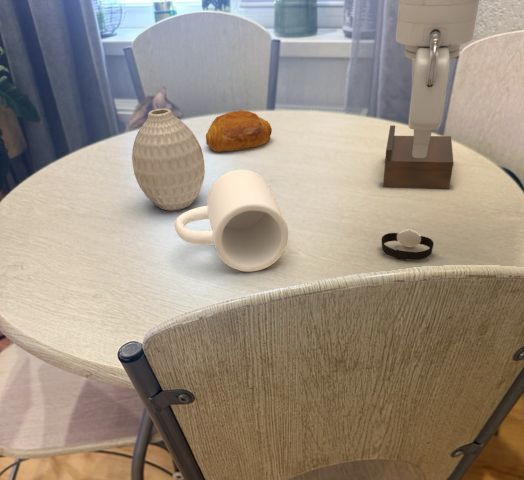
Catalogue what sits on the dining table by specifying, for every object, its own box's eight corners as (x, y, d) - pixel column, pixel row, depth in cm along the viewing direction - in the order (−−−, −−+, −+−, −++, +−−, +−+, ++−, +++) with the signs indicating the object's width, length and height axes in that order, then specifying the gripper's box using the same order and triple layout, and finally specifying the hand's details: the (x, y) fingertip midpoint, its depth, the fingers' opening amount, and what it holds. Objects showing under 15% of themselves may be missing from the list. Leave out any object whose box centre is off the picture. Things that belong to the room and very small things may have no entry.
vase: (127, 210, 100) (105, 117, 90) (173, 185, 108) (157, 97, 98) (179, 224, 94) (161, 127, 84) (222, 197, 102) (212, 105, 92)
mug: (274, 227, 91) (270, 164, 84) (290, 267, 81) (287, 199, 74) (179, 240, 90) (167, 177, 83) (182, 282, 79) (169, 214, 72)
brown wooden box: (447, 161, 109) (452, 125, 104) (449, 189, 98) (455, 150, 94) (387, 159, 111) (390, 125, 107) (383, 186, 101) (386, 149, 97)
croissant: (275, 157, 123) (279, 121, 118) (208, 157, 119) (209, 120, 114) (261, 136, 133) (264, 102, 128) (199, 136, 130) (200, 101, 125)
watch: (433, 249, 82) (437, 228, 79) (429, 264, 78) (432, 242, 76) (383, 243, 84) (385, 222, 82) (377, 257, 81) (378, 236, 79)
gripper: (468, 40, 54) (445, 174, 63) (460, 9, 69) (442, 120, 78) (404, 41, 55) (391, 172, 64) (410, 10, 70) (398, 119, 79)
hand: (419, 143), depth 71 cm, fingers open, 8 cm apart
